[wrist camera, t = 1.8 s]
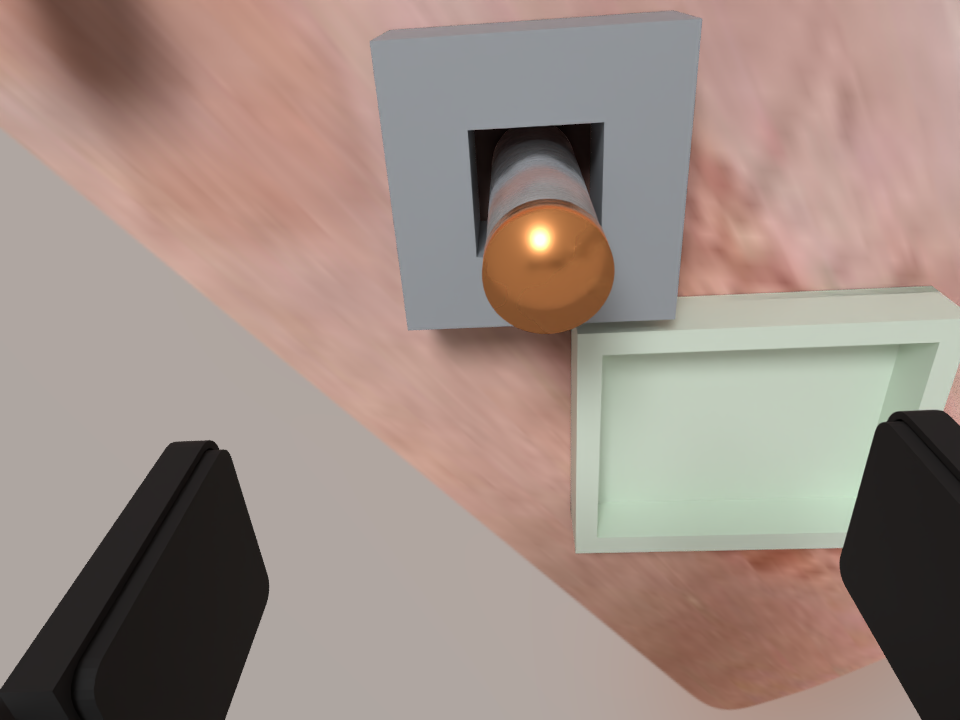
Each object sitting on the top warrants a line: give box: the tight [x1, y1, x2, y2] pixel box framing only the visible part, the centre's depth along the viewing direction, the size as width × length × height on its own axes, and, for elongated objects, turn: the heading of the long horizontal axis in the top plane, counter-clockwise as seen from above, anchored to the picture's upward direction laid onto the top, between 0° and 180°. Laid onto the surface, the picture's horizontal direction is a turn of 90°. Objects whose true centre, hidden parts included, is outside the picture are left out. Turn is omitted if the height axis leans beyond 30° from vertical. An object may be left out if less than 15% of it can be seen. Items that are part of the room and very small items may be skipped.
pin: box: [482, 125, 615, 334], centre depth 22 cm, size 3×3×11 cm
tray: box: [571, 286, 960, 553], centre depth 31 cm, size 15×12×3 cm
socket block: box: [370, 11, 702, 330], centre depth 25 cm, size 10×10×4 cm
